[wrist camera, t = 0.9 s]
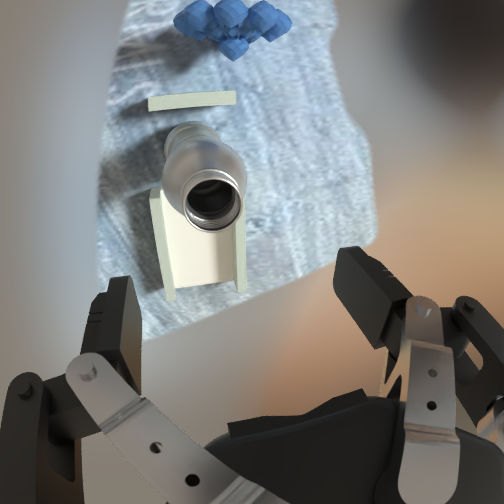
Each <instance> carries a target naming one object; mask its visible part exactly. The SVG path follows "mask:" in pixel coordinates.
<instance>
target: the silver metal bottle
mask: <svg viewBox="0 0 504 504" xmlns="http://www.w3.org/2000/svg"><path fill="white" fill-rule="evenodd" d="M164 155H165V158H166V163H165V165H164V168H163V172H162V188H163V191H164V194H165V197H166V198H167V200H168V202H169V203H170V204H171V206H172V207H173V208H174V209H175V210H176V211H178V212H179V213H180V214H182V215H183V216H185V218H186V219H187V221H188V222H189V223H190V224H191V225H192V226H193V227H194V228H196V229H198V230H200V231H202V232H206V233H219V232H222V231H225V230H227V229H229V228H230V227H232V226H233V225H234V224H235V223H236V222H237V221H238V219H239V218H240V216H241V213H242V209H243V198H244V196H245V193H246V188H247V171H246V167H245V165H244V163H243V160H242V159H241V157H240V156H239V155H238V153H237V152H236V151H235V150H233V149H232V148H231V147H230V146H228V145H226V144H225V143H223V142H222V140H221V138H220V136H219V134H218V133H217V132H216V130H214V129H213V128H212V127H211V126H209V125H208V124H205V123H203V122H198V121H189V122H184V123H182V124H180V125H178V126H176V127H175V128H174V129H173V130H172V131H171V132H170V133H169V134H168V136H167V138H166V141H165V144H164Z"/></svg>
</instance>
